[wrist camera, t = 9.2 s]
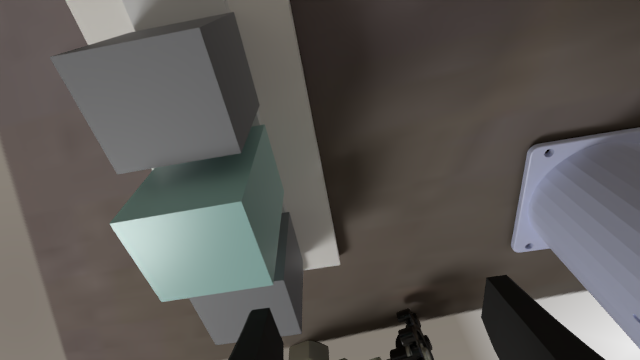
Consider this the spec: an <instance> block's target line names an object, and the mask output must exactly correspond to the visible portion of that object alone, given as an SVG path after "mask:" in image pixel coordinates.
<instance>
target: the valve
mask: <svg viewBox="0 0 640 360" xmlns="http://www.w3.org/2000/svg"><path fill="white" fill-rule="evenodd" d="M396 314H397V318H398V321H399V322H402V321H404V322H405V323H406V324H407V325H406V328H404V329H401V330H399V331H398V333H399V335H398V336H397V339H396V349H393V350H391V351H390V359H387V360H434V358H433V355H432V353H431V350H432V345H431V343H430V340H429V338H428V337H427V335H423V333H422V331H421V329H420V328H421V325H420V321H419V319H418V317H417V315H416V314H415V313H413V314H412V312H411V310H410V309H409V308H407V309H405V310H402V311H399V312H397V313H396ZM289 360H329V350H328V346H326V345H324V344H322V343H320V342H314V341H305V342H302V343H299V344H296V345H294V346H291V347H290V348H289ZM340 360H347V359H345V358H343V359H340ZM371 360H381V358H380V357H377V358H374V359H371Z"/></svg>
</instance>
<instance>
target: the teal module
mask: <svg viewBox="0 0 640 360" xmlns="http://www.w3.org/2000/svg"><path fill="white" fill-rule="evenodd" d="M283 197H284V189H283V186H282V182H281V179H280V176H279V172H278V169H277V165H276V162H275V158H274V155H273V151H272V148H271V145H270V141H269V138H268V134H267V131H266V127H265V124H264V125H258V126H253V127H251V129H250V132H249V134H248V137H247V139H246V142H245V145H244V147H243V150H242V152H241V153H239V154H233V155H227V156H221V157H216V158H210V159H204V160H198V161H192V162H186V163H180V164H174V165H169V166H163V167H157V168H154V169H153V171H152V172H151V173H150V174H149V176H148V177H147V178H146V179H145V180H144V182H143V183H142V184H141V185H140V187H139V188H138V189H137V190H136V192H135V193H134V194H133V195H132V196H131V198H130V199H129V200H128V201H127V203H126V204H125V205H124V206H123V208H122V209H121V210H120V211H119V213H118V214H117V215H116V216H115V217H114V219H113V220H112V221H111V222H110V226H111V227H112V229H113V230H114V232H115V233H116V235H117V236H118V238H119V239H120V241H121V242H122V244H123V245H124V247H125V248H126V250H127V251H128V253H129V254H130V255H131V257H132V258H133V260H134V261H135V263H136V264H137V266H138V267H139V269H140V270H141V272H142V273H143V275H144V276H145V278H146V279H147V281H148V282H149V284H150V285H151V287H152V288H153V290H154V291H155V293H156V294H157V296H158V297H159V299H160V300H161V302H165V301H171V300H178V299H185V298H191V297H198V296H205V295H211V294H218V293H225V292H231V291H238V290H245V289H251V288H258V287H265V286H271V285H273V282H274V274H275V265H276V257H277V248H278V239H279V231H280V222H281V214H282V205H283Z"/></svg>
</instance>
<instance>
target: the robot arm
mask: <svg viewBox="0 0 640 360" xmlns="http://www.w3.org/2000/svg"><path fill="white" fill-rule="evenodd" d="M548 149H550V150H549V152H548V153H546V154H545V152H546V151H547V150H548ZM511 247H512V249H513V250H514V251H515V252H526V251H534V250H541V249H548V248H550V249H551V250H552V251H553V252H554V253H555V254H556V255H557V256H558V258H559V259H560V260H561V261H562V262H563V263H564V264H565V265H566V267H567V268H568V269H569V270H570V271H571V272H572V273H573V274H574V276H575V277H576V278H577V279H578V280H579V281H580V282H581V283H582V285H583V286H584V287H585V288H586V289H587V290H588V291H589V292H590V293H591V295H593V297H594V298H595V299H596V300H597V301H598V302H599V304H600V305H601V306H602V307H603V308H604V309H605V310H606V311H607V312H608V314H609V315H610V316H611V317H612V318H613V319H614V320H615V322H616V323H617V324H618V325H619V326H620V327H621V328H622V329H623V331H624V332H626V334H627V335H628V336H629V337H630V338H631V340H632V341H633V342H634V343H635V344H636V345H637V346H638V347H639V349H640V127H638V128H632V129H626V130H620V131H614V132H608V133H601V134H595V135H589V136H583V137H577V138H571V139H564V140H558V141H552V142H546V143H540V144H536V145H533V146H532V147H531V148H530V149H529V150H528V153H527V157H526V163H525V169H524V174H523V180H522V186H521V191H520V197H519V203H518V208H517V214H516V219H515V225H514V231H513V236H512V242H511ZM481 318H482V320H483V323H484V325H485V328H486V331H487V333H488V336H489V337H490V340H491V343H492V345H493V347H494V350H495V352H496V354H497V356H498V358H499V359H500V360H605V359H604V358H603V357H601V356H600V355H599V354H597V353H596V352H595V351H594V350H592V349H591V348H590V347H589V346H587V345H586V344H585V343H584V342H582V341H581V340H580V339H579V338H578V337H576V336H575V335H574V334H573V333H572V332H570V331H569V330H568V329H567V328H566V327H564V326H563V325H562V324H561V323H560V322H558V321H557V320H556V319H555V318H554V317H553V316H551V315H550V314H549V313H548V312H547V311H546V310H545V309H544V308H542V307H541V306H540V305H539V304H538V303H537V302H536V301H535V300H533V299H532V298H531V297H530V296H529V295H528V294H527V293H526V292H525V291H524V290H522V289H521V288H520V287H519V286H518V285H517V284H516V283H515V282H514V281H513V280H512V279H510V278H509V277H508V276H507V275H502V276H495V277H488V278H486V286H485V293H484V301H483V308H482V316H481ZM228 360H283V341H282V338H281V336H280V333H279V331H278V328H277V326H276V323H275V320H274V318H273V315H272V313H271V310H270V308H263V309H255V310H252V311H251V312H250V313H249V315H248V318H247V320H246V322H245V325H244V327H243V329H242V332H241V334H240V336H239V338H238V340H237V343H236V345H235V347H234V349H233V351H232V353H231V355H230V357H229V359H228Z"/></svg>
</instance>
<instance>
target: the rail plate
mask: <svg viewBox="0 0 640 360" xmlns="http://www.w3.org/2000/svg"><path fill="white" fill-rule="evenodd" d="M66 2H67V4H68V6H69V8H70V10H71V12H72V14H73V16H74V18H75V20H76V22H77V24H78V26H79V28H80V30H81V32H82V34H83V36H84V38H85V40H86V42H87V43H88V45H87V46H84V47H81V48H78V49H74V50H71V51H68V52H65V53H61V54H58V55H55V56H51V57H50V59H51V60H52V62H53V64H54V66H55V67H56V69H57V71H58V72H59V74H60V76H61V78H62V79H63V81H64V83H65V85H66V86H67V88H68V90H69V92H70V93H71V95H72V97H73V98H74V100H75V102H76V104H77V105H78V107H79V109H80V111H81V112H82V114H83V116H84V118H85V119H86V121H87V123H88V124H89V126H90V128H91V130H92V131H93V133H94V135H95V137H96V138H97V140H98V142H99V143H100V145H101V147H102V149H103V150H104V152H105V154H106V156H107V157H108V159H109V161H110V163H111V164H112V166H113V168H114V169H115V171H116V173H117V174H122V173H127V172H133V171H139V170H145V169H152V171H153V169H154V168H157V167H163V166H169V165H174V164H180V163H186V162H192V161H198V160H204V159H210V158H216V157H221V156H227V155H233V154H239V153H241V152H242V150H243V147H244V145H245V142H246V139H247V137H248V134H249V132H250V129H251V127H253V126H258V125H264V124H265V127H266V131H267V134H268V138H269V141H270V145H271V148H272V151H273V155H274V158H275V162H276V165H277V169H278V172H279V176H280V179H281V182H282V186H283V189H284V197H283V205H282V214H281V222H280V231H279V239H278V248H277V257H276V265H275V274H274V282H273V285H271V286H265V287H258V288H251V289H245V290H238V291H231V292H225V293H218V294H211V295H205V296H198V297H191V298H189V299H190V301H191V303H192V304H193V306H194V308H195V310H196V311H197V313H198V315H199V317H200V318H201V320H202V322H203V324H204V325H205V327H206V329H207V330H208V332H209V334H210V336H211V337H212V339H213V341H214V343H215V344H216V345H220V344H227V343H235V342H237V340H238V338H239V336H240V334H241V332H242V329H243V327H244V325H245V322H246V320H247V318H248V315H249V313H250V312H251V311H252V310H255V309H263V308H270V310H271V313H272V315H273V318H274V320H275V323H276V326H277V328H278V331H279V333H280V336H288V335H296V334H302V289H303V270H308V269H315V268H322V267H329V266H336V265H340V258H339V252H338V247H337V242H336V237H335V231H334V226H333V221H332V216H331V211H330V206H329V201H328V195H327V190H326V185H325V180H324V175H323V170H322V165H321V159H320V154H319V149H318V144H317V139H316V134H315V129H314V123H313V118H312V113H311V108H310V103H309V98H308V93H307V88H306V82H305V77H304V72H303V67H302V62H301V57H300V52H299V46H298V41H297V36H296V31H295V26H294V21H293V16H292V10H291V5H290V0H66Z"/></svg>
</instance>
